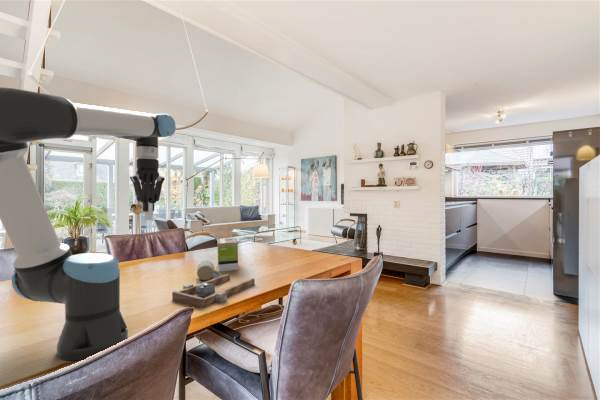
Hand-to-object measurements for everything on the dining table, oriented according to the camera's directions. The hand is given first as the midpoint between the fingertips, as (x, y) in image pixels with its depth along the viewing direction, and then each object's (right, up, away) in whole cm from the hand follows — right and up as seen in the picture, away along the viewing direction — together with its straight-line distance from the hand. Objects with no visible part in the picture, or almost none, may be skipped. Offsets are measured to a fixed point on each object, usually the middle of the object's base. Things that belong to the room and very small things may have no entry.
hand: (148, 219), depth 113 cm
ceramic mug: (+16, -29, +23) cm, 40 cm away
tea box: (+20, -29, +42) cm, 55 cm away
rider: (+22, -30, 0) cm, 37 cm away
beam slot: (+25, -29, +5) cm, 39 cm away
